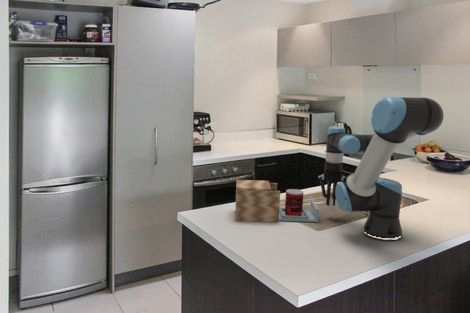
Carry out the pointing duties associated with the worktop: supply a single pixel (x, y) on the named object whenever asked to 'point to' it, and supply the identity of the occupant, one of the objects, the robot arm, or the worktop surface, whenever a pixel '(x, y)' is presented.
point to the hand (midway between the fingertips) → (329, 212)
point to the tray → (306, 215)
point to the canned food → (294, 202)
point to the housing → (257, 201)
